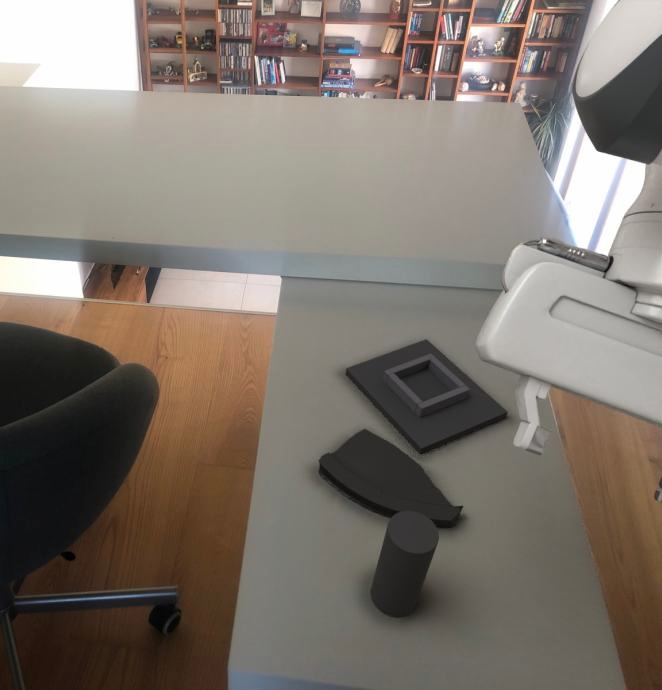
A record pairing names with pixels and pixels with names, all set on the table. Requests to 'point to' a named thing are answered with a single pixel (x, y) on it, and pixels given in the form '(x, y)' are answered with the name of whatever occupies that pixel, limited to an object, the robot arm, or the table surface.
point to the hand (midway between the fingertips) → (597, 478)
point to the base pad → (425, 395)
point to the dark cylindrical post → (403, 562)
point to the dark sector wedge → (385, 479)
